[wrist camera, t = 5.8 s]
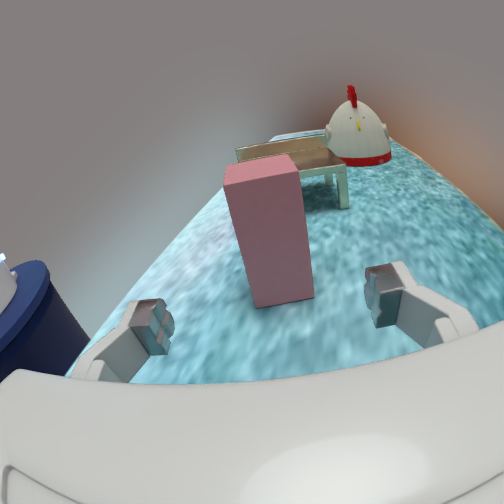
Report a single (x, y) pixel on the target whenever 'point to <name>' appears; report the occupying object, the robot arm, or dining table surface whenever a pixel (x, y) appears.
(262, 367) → the dining table surface
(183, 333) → the dining table surface
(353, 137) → the kitchen timer
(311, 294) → the pink carton
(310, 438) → the robot arm
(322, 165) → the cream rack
